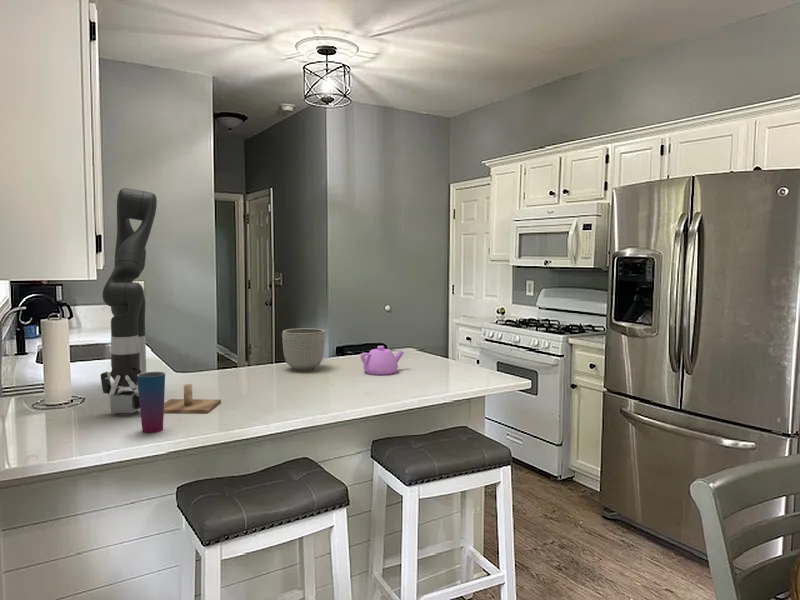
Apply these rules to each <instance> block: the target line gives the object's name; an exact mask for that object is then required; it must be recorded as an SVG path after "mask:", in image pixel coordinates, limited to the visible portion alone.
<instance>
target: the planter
mask: <svg viewBox="0 0 800 600" xmlns="http://www.w3.org/2000/svg"><path fill="white" fill-rule="evenodd" d="M281 336H282V340H281V341H282V349H283V357H284V360H285V362H286V364H287V365H288V366H290V367H291V368H292V370H293V371H295V372H299V373H300V372H302V373H306V372H312V371H315V370H316V368H317V367H318V366H319V365H320V364H322V362H323V359H324V355H325V346H326V345H325V344H326V330H325V329H322V328H311V327H305V328H303V327H301V328H300V327H299V328H297V327H296V328H287V329H284V330H283V331H282V333H281Z"/></svg>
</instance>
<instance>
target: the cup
mask: <svg viewBox="0 0 800 600" xmlns="http://www.w3.org/2000/svg"><path fill="white" fill-rule="evenodd" d="M137 381H138V391H139V401H140V409H139V410H140V411H139V412H140V420H141V431H142V432H143V433H145V434H155V433H158V432H159V433H160V432H162V431H163V430H164V415H165V413H164V403H165V392H166V391H165V388H166V372H164V371H146V372H145V373H140V374H138V375H137Z"/></svg>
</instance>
